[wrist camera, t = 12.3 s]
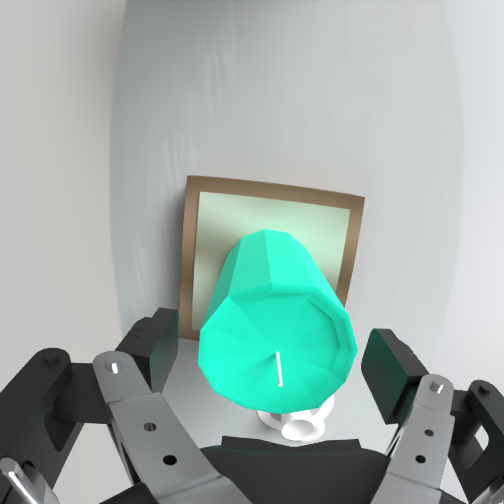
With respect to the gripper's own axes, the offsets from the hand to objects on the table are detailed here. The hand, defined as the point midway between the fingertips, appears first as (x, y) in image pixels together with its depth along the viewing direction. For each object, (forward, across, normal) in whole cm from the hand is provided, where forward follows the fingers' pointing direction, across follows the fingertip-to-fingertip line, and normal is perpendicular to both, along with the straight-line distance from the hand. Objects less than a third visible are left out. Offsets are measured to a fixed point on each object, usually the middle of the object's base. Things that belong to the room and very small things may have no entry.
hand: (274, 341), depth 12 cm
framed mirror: (+13, 0, 0) cm, 13 cm away
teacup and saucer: (+13, -3, +18) cm, 23 cm away
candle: (+9, 0, 0) cm, 9 cm away
